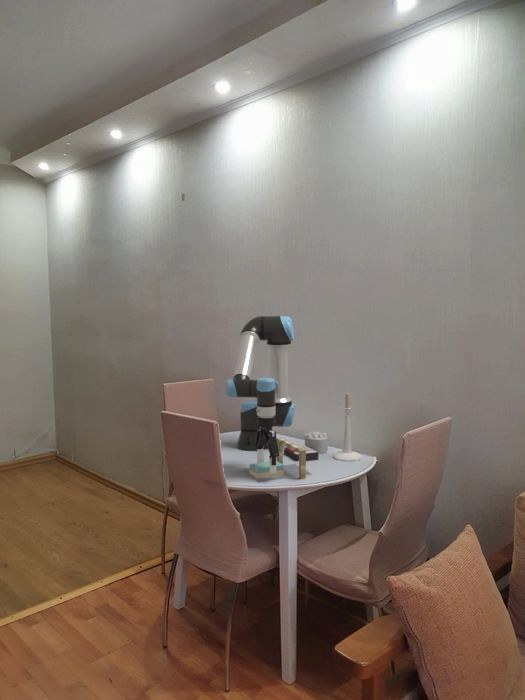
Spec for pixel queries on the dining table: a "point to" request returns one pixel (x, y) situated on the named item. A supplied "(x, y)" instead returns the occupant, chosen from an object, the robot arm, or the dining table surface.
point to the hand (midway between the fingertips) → (266, 468)
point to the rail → (299, 450)
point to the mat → (288, 473)
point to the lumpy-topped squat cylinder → (317, 442)
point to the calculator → (294, 455)
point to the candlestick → (347, 437)
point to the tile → (265, 470)
